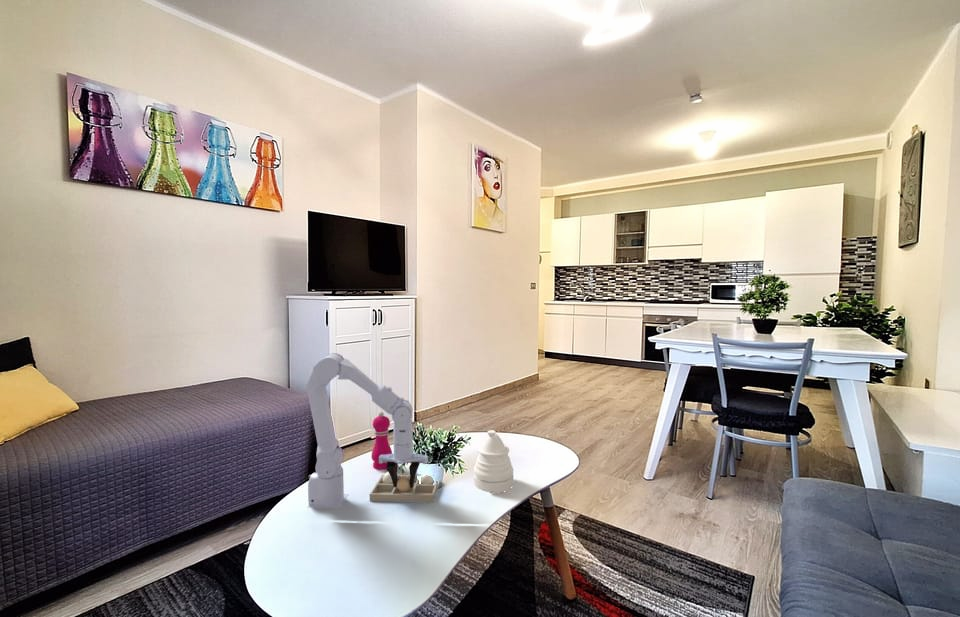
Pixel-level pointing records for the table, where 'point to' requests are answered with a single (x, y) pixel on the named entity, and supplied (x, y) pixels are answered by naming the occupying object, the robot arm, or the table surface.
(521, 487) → the table surface
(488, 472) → the honey pot
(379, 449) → the pepper mill
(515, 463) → the table surface
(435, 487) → the carton
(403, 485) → the tan orange ball
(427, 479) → the cream egg right
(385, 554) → the table surface
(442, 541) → the table surface
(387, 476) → the cream egg left
